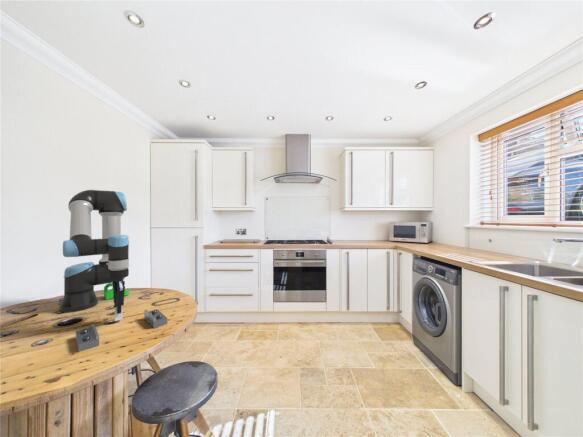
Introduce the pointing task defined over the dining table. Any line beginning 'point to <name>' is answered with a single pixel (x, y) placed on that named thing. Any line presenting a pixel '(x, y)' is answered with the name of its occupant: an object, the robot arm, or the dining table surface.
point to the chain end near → (87, 338)
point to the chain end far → (155, 318)
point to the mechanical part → (111, 291)
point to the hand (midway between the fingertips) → (118, 319)
